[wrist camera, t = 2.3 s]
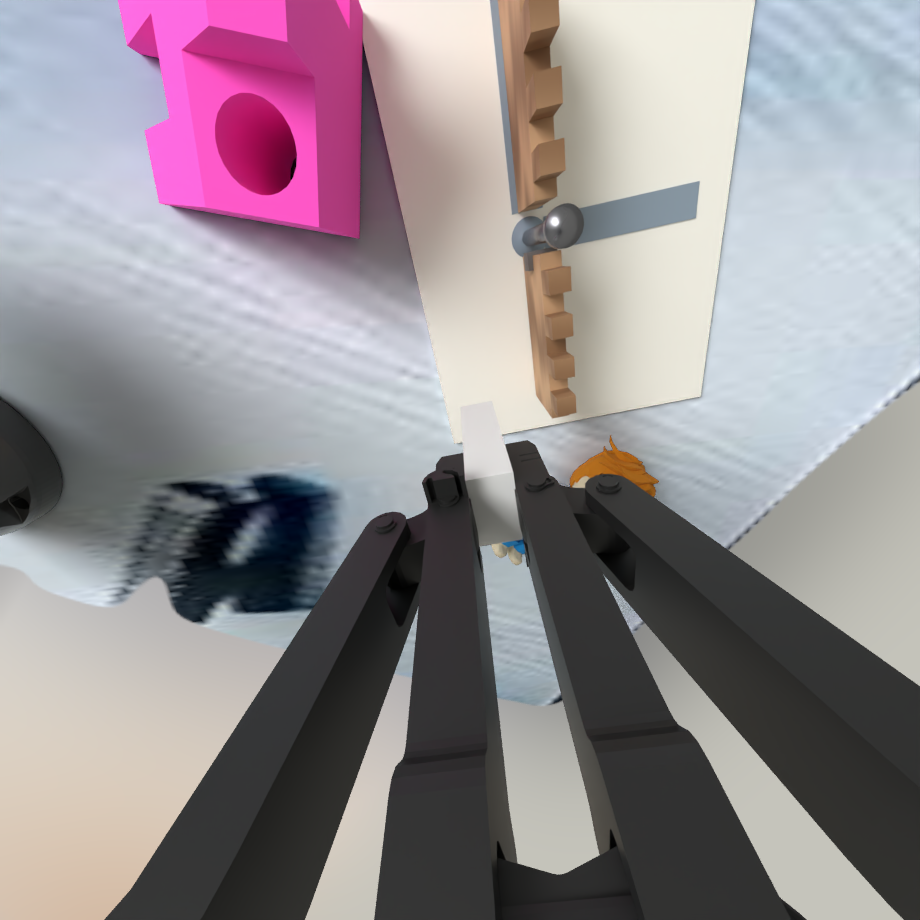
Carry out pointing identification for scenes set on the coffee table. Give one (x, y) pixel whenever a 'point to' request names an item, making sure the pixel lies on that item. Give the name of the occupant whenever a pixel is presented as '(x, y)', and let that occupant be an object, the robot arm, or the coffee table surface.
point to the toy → (594, 466)
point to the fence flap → (550, 329)
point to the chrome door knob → (557, 228)
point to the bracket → (257, 107)
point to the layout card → (565, 192)
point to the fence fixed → (532, 97)
